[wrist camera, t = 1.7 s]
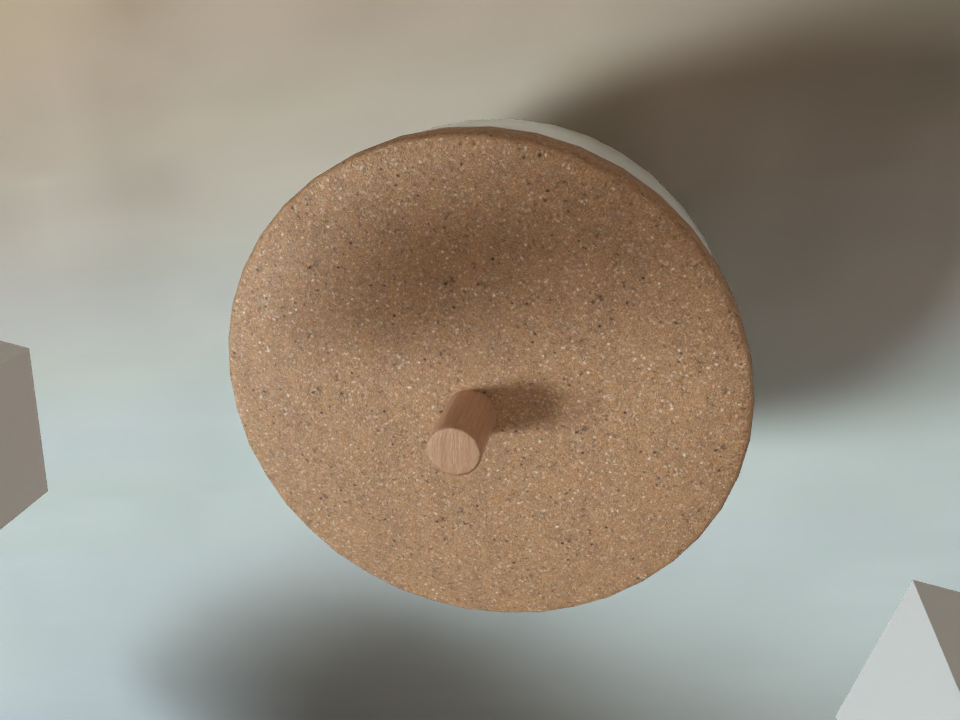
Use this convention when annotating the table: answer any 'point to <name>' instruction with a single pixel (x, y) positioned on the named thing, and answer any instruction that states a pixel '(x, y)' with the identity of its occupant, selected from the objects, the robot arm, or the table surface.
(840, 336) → the table surface
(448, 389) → the lidded jar
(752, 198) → the table surface
